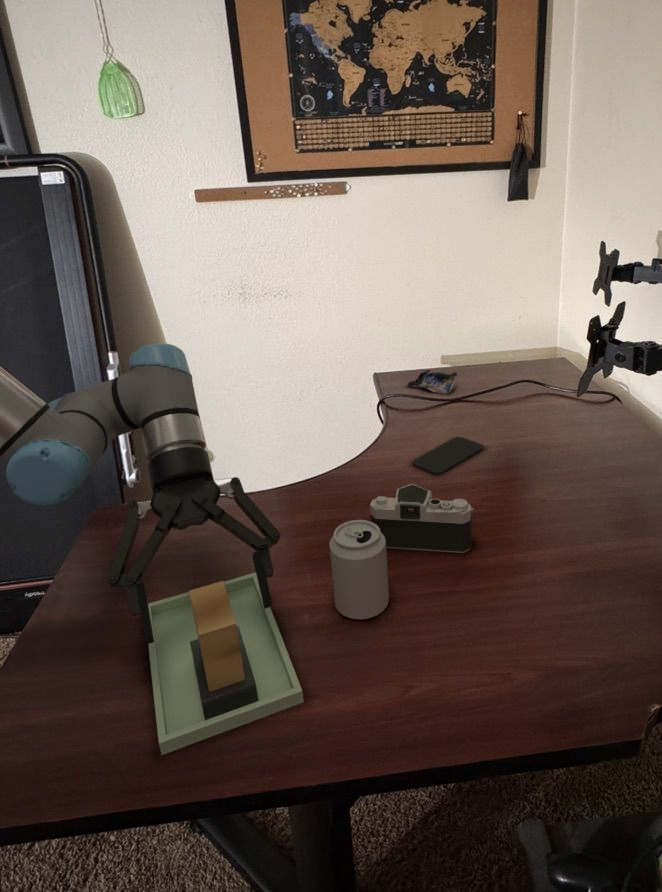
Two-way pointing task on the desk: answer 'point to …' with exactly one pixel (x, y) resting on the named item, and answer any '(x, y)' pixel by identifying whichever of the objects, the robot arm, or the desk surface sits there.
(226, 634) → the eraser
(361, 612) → the can
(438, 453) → the phone
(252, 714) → the tray
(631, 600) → the desk surface
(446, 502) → the camera
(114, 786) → the desk surface
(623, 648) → the desk surface
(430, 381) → the snack package
